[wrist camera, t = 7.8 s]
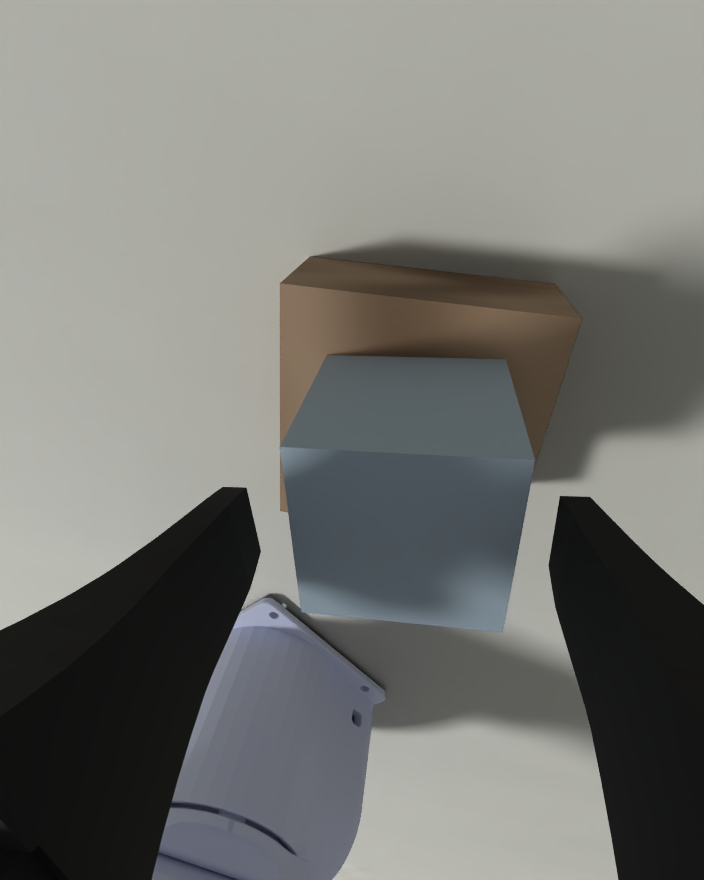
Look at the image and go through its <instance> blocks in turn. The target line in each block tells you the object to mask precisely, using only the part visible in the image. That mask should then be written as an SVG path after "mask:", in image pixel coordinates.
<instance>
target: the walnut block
mask: <svg viewBox="0 0 704 880" xmlns="http://www.w3.org/2000/svg"><path fill="white" fill-rule="evenodd" d="M581 321H582V318H581V316H580V315H579V314H578V313H577V311H576V310H575V309H574V308H573V306H572V305H571V304H570V303H569V301H568V300H567V299H566V297H565V296H564V295H563V294H562V292H561V291H560V290H559V289H558V287H557V286H556V285H555V284H552V283H543V282H534V281H525V280H516V279H507V278H498V277H489V276H480V275H471V274H462V273H453V272H444V271H435V270H426V269H417V268H408V267H399V266H390V265H381V264H372V263H363V262H354V261H345V260H336V259H327V258H318V257H309V258H308V259H307V260H306V261H305V262H303V263H302V264H301V265H300V266H299V267H298V268H297V269H296V270H294V271H293V272H292V273H291V274H290V275H289V276H288V277H287V278H286V279H284V280H283V281H282V282H281V283H280V446H281V444H282V442H283V440H284V438H285V436H286V434H287V432H288V430H289V428H290V426H291V424H292V422H293V420H294V418H295V416H296V414H297V412H298V410H299V408H300V406H301V404H302V403H303V401H304V399H305V397H306V395H307V393H308V391H309V389H310V387H311V385H312V383H313V381H314V379H315V377H316V375H317V373H318V371H319V369H320V367H321V365H322V363H323V361H324V359H325V357H326V356H327V355H346V356H388V357H430V358H472V359H506V361H507V365H508V368H509V372H510V375H511V379H512V382H513V386H514V389H515V393H516V396H517V399H518V403H519V406H520V410H521V413H522V417H523V420H524V424H525V427H526V430H527V434H528V437H529V441H530V444H531V448H532V451H533V455H534V458H535V463H536V460H537V457H538V454H539V451H540V448H541V445H542V442H543V438H544V435H545V432H546V429H547V426H548V423H549V420H550V417H551V414H552V411H553V408H554V404H555V401H556V398H557V395H558V392H559V389H560V386H561V383H562V380H563V377H564V374H565V370H566V367H567V364H568V361H569V358H570V355H571V352H572V349H573V346H574V343H575V340H576V337H577V333H578V330H579V327H580V324H581ZM534 466H535V464H534ZM280 511H283V512H288V506H287V499H286V491H285V483H284V476H283V468H282V460H281V453H280Z"/></svg>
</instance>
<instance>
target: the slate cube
mask: <svg viewBox="0 0 704 880" xmlns="http://www.w3.org/2000/svg"><path fill="white" fill-rule="evenodd" d="M280 453H281V460H282V468H283V476H284V483H285V491H286V499H287V506H288V514H289V522H290V529H291V537H292V545H293V553H294V560H295V568H296V576H297V583H298V591H299V599H300V606H301V612H303V613H313V614H323V615H333V616H343V617H353V618H363V619H373V620H383V621H393V622H402V623H412V624H422V625H432V626H442V627H452V628H462V629H472V630H482V631H492V632H502V633H503V629H504V624H505V618H506V613H507V608H508V602H509V597H510V592H511V586H512V581H513V576H514V570H515V565H516V560H517V554H518V549H519V544H520V538H521V533H522V528H523V522H524V517H525V512H526V506H527V501H528V496H529V490H530V485H531V480H532V474H533V469H534V464H535V458H534V455H533V451H532V448H531V444H530V441H529V437H528V434H527V430H526V427H525V424H524V420H523V417H522V413H521V410H520V406H519V403H518V399H517V396H516V393H515V389H514V386H513V382H512V379H511V375H510V372H509V368H508V365H507V361H506V359H472V358H430V357H388V356H346V355H327V356H326V357H325V359H324V361H323V363H322V365H321V367H320V369H319V371H318V373H317V375H316V377H315V379H314V381H313V383H312V385H311V387H310V389H309V391H308V393H307V395H306V397H305V399H304V401H303V403H302V404H301V406H300V408H299V410H298V412H297V414H296V416H295V418H294V420H293V422H292V424H291V426H290V428H289V430H288V432H287V434H286V436H285V438H284V440H283V442H282V444H281V446H280Z"/></svg>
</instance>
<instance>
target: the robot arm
mask: <svg viewBox="0 0 704 880" xmlns="http://www.w3.org/2000/svg"><path fill="white" fill-rule="evenodd" d="M260 552H261V550H260V546H259V541H258V537H257V532H256V528H255V524H254V519H253V515H252V510H251V506H250V502H249V497H248V493H247V488H238V487H222V488H221V489H219V490H218V491H216V492H215V493H214V494H212V495H211V496H210V497H208V498H207V499H206V500H204V501H203V502H202V503H201V504H199V505H198V506H197V507H195V508H194V509H193V510H192V511H190V512H189V513H188V514H187V515H185V516H184V517H183V518H181V519H180V520H179V521H178V522H176V523H175V524H174V525H172V526H171V527H170V528H168V529H167V530H166V531H165V532H163V533H162V534H161V535H159V536H158V537H157V538H155V539H154V540H153V541H151V542H150V543H148V544H147V545H146V546H144V547H143V548H141V549H140V550H138V551H137V552H136V553H134V554H133V555H131V556H130V557H129V558H127V559H126V560H124V561H123V562H122V563H120V564H119V565H117V566H116V567H114V568H113V569H111V570H110V571H108V572H106V573H105V574H103V575H102V576H100V577H99V578H97V579H95V580H94V581H92V582H90V583H89V584H87V585H85V586H84V587H82V588H80V589H79V590H77V591H75V592H74V593H72V594H70V595H68V596H67V597H65V598H63V599H61V600H59V601H57V602H55V603H53V604H51V605H50V606H48V607H46V608H44V609H42V610H40V611H38V612H36V613H34V614H32V615H30V616H29V617H27V618H25V619H23V620H21V621H19V622H17V623H15V624H13V625H11V626H8V627H6V628H4V629H2V630H0V880H332V879H333V878H334V877H335V875H336V874H337V873H338V872H339V870H340V869H341V867H342V865H343V864H344V862H345V860H346V858H347V856H348V854H349V852H350V850H351V847H352V845H353V843H354V840H355V837H356V834H357V830H358V827H359V823H360V817H361V811H362V803H363V794H364V786H365V777H366V769H367V761H368V752H369V744H370V735H371V727H372V718H373V710H374V705H377V704H380V703H382V702H384V701H385V697H386V693H385V691H384V690H383V689H382V688H381V687H380V686H378V685H377V684H376V683H375V682H374V681H372V680H371V679H370V678H369V677H367V676H366V675H365V674H364V673H363V672H361V671H360V670H359V669H358V668H357V667H355V666H354V665H353V664H352V663H350V662H349V661H348V660H347V659H346V658H344V657H343V656H342V655H341V654H340V653H338V652H337V651H336V650H335V649H333V648H332V647H331V646H330V645H329V644H327V643H326V642H325V641H324V640H323V639H321V638H320V637H319V636H318V635H316V634H315V633H314V632H313V631H312V630H310V629H309V628H308V627H307V626H306V625H304V624H303V623H302V622H301V621H299V620H298V619H297V618H296V617H295V616H293V615H292V614H291V613H290V612H289V611H287V610H286V609H285V608H284V607H283V606H281V605H280V604H279V603H278V602H276V601H275V600H274V599H272V598H263V599H261V600H259V601H257V602H256V603H254V604H252V605H250V606H249V607H247V608H245V609H244V610H242V611H241V609H242V606H243V604H244V602H245V599H246V597H247V595H248V592H249V590H250V587H251V584H252V581H253V577H254V574H255V571H256V567H257V563H258V560H259V556H260ZM549 571H550V577H551V584H552V590H553V596H554V601H555V607H556V611H557V614H558V618H559V621H560V625H561V628H562V631H563V635H564V638H565V641H566V645H567V648H568V651H569V655H570V658H571V661H572V665H573V668H574V671H575V675H576V678H577V681H578V685H579V688H580V691H581V694H582V698H583V701H584V704H585V708H586V712H587V716H588V720H589V723H590V727H591V732H592V737H593V742H594V747H595V752H596V757H597V762H598V767H599V772H600V777H601V782H602V788H603V793H604V799H605V804H606V810H607V815H608V821H609V826H610V832H611V837H612V843H613V849H614V855H615V861H616V867H617V873H618V879H619V880H704V605H703V604H702V603H701V602H700V601H698V600H697V599H696V598H695V597H694V596H693V595H691V594H690V593H689V592H688V591H687V590H686V589H684V588H683V587H682V586H681V585H680V584H679V583H677V582H676V581H675V580H674V579H673V578H672V577H671V576H669V575H668V574H667V573H666V572H665V571H664V570H663V569H662V568H661V567H660V566H659V565H657V564H656V563H655V562H654V561H653V560H652V559H651V558H650V557H649V556H648V555H647V554H646V553H645V552H644V551H643V550H642V549H641V548H640V547H639V546H638V545H637V544H636V543H635V542H634V541H633V540H632V539H631V538H630V537H629V536H628V535H627V534H626V533H625V532H624V531H623V530H622V529H621V528H620V527H619V526H618V525H617V524H616V523H615V522H614V521H613V520H612V519H611V518H610V517H609V516H608V515H607V514H606V513H605V512H604V511H603V510H602V509H601V508H600V507H599V506H598V505H597V504H596V503H595V502H594V501H593V500H592V499H591V498H590V497H572V496H560V500H559V506H558V512H557V518H556V524H555V530H554V536H553V542H552V548H551V554H550V560H549Z"/></svg>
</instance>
